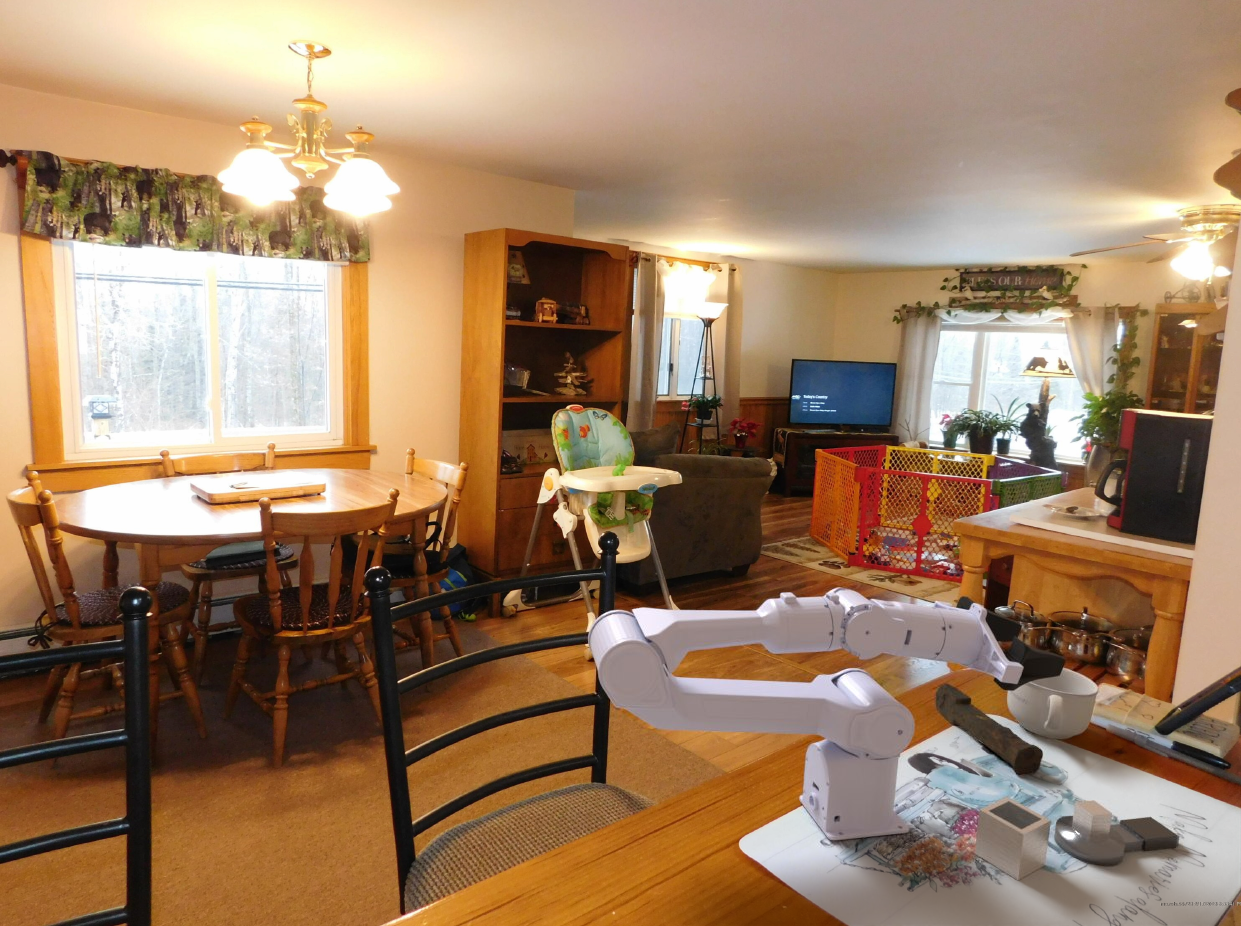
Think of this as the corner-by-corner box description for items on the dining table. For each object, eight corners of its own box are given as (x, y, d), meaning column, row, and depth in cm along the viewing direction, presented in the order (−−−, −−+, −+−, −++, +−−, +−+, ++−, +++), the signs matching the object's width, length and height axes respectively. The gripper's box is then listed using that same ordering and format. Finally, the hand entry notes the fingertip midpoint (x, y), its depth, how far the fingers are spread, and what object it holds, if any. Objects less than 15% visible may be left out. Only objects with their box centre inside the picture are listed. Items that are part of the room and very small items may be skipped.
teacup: (1012, 704, 119) (1018, 653, 117) (1095, 726, 112) (1103, 673, 111) (992, 740, 107) (999, 684, 106) (1084, 767, 101) (1092, 708, 100)
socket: (1018, 880, 79) (1023, 834, 78) (974, 853, 83) (979, 809, 82) (1045, 865, 81) (1050, 820, 81) (1001, 839, 86) (1006, 796, 85)
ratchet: (1085, 869, 81) (1091, 828, 80) (1040, 831, 87) (1045, 793, 87) (1192, 856, 84) (1198, 816, 83) (1141, 820, 90) (1146, 783, 89)
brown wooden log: (1042, 776, 99) (1047, 741, 98) (1014, 778, 98) (1019, 743, 98) (952, 707, 117) (955, 678, 117) (927, 709, 117) (931, 679, 116)
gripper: (979, 633, 79) (1096, 650, 81) (909, 572, 92) (1011, 588, 95) (956, 694, 81) (1071, 709, 83) (891, 625, 94) (992, 640, 97)
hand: (1038, 648), depth 89 cm, fingers open, 7 cm apart
